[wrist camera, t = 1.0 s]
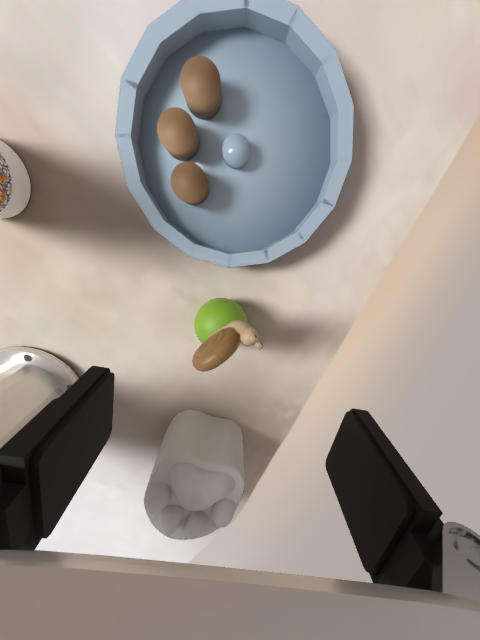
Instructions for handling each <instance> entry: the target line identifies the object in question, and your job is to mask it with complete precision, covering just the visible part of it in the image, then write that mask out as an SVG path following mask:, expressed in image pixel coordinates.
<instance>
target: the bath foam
mask: <svg viewBox="0 0 480 640" xmlns="http://www.w3.org/2000/svg"><path fill="white" fill-rule="evenodd" d="M30 193H31V184H30V179H29V175H28V172H27V170H26V168H25V166H24V164H23V162H22V161H21V159H20V158H19V157H18V155H17V154H16V153H15V152H14V151H13V150H12V149H11V148H10V147H9V146H8V145H6V144H5V143H4V142H2V141H1V140H0V219H4V218H10V217H13V216H15V215H17V214H19V213H20V212H21V211H23V210H24V208H25V207H26V205H27V204H28V201H29V198H30Z"/></svg>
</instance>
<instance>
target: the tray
mask: <svg viewBox="0 0 480 640" xmlns="http://www.w3.org/2000/svg"><path fill="white" fill-rule="evenodd" d="M199 55H200V56H205V57H207V58H209V59H210V60H211V61H212V62H213V63H214V64H215V65H216V67H217V69H218V71H219V74H220V80H221V94H222V103H221V107H220V110H219V112H218V113H217V114H216V115H215V116H214V117H213V118H211V119H208V120H201V119H198V118H197V117H195V116H194V115H193V114H192V113H191V112H190V110H189V108H188V106H187V103H186V100H185V97H184V95H183V92H182V89H181V85H180V74H181V70H182V67H183V65H184V64H185V62H186V61H187V60H188V59H190V58H191V57H193V56H199ZM171 107H178V108H181V109H183V110H185V111H186V112H187V113H188V114H189V115H190V116H191V117H192V119H193V121H194V124H195V127H196V130H197V133H198V136H199V141H200V143H199V149H198V152H197V154H196V155H195V156H194V157H193V158H192V159H190V160H188V161H179V160H177V159H175V158H174V157H172V156H171V155H170V153H169V152H168V151H167V150H166V148H165V147H164V146H163V145H162V143H161V142H160V140H159V137H158V134H157V122H158V119H159V117H160V115H161V114H162V112H163V111H165V110H166V109H168V108H171ZM353 113H354V104H353V101H352V98H351V95H350V92H349V88H348V85H347V82H346V79H345V76H344V73H343V70H342V67H341V64H340V61H339V58H338V55H337V51H336V49H335V48H334V47H333V46H332V44H331V43H330V42H329V41H328V40H327V39H326V37H325V36H324V35H323V34H322V33H321V31H320V30H319V29H318V28H317V27H316V26H315V24H314V23H313V22H312V21H311V20H310V18H309V17H308V16H307V15H306V14H305V13H304V11H303V10H302V9H301V8H300V7H299V6H298V5H296V4H293V3H291V2H289V1H286V0H181V1H179V2H178V3H177V4H175V5H174V6H173V7H171V8H170V9H169V10H168V11H166V12H165V13H164V14H162V15H161V16H160V17H158V18H157V19H156V20H154V21H153V22H152V23H150V24H149V25H148V26H147V28H146V30H145V32H144V34H143V36H142V38H141V40H140V42H139V44H138V46H137V47H136V49H135V51H134V53H133V55H132V57H131V59H130V61H129V63H128V65H127V67H126V69H125V71H124V72H123V74H122V76H121V82H120V92H119V101H118V110H117V120H116V129H115V137H116V141H117V146H118V150H119V154H120V158H121V163H122V167H123V171H124V175H125V180H126V184H127V188H128V189H129V191H130V193H131V194H132V196H133V197H134V199H135V200H136V202H137V204H138V205H139V207H140V208H141V210H142V211H143V213H144V215H145V216H146V218H147V219H148V221H149V223H150V224H151V226H152V227H153V229H154V230H155V231H157V232H158V233H159V234H161V235H162V236H163V237H164V238H166V239H167V240H168V241H170V242H171V243H172V244H174V245H175V246H176V247H177V248H179V249H180V250H181V251H183V252H184V253H185V254H187V255H188V256H190V257H193V258H197V259H200V260H204V261H207V262H211V263H214V264H218V265H221V266H225V267H228V268H230V267H238V266H246V265H254V264H263V263H269V262H271V261H273V260H275V259H276V258H278V257H280V256H282V255H283V254H285V253H287V252H289V251H291V250H292V249H294V248H296V247H298V246H300V245H301V244H303V243H305V242H306V241H307V240H308V238H309V237H310V236H311V235H312V234H313V232H314V231H315V230H316V229H317V228H318V226H319V225H320V224H321V223H322V222H323V220H324V219H325V218H326V217H327V216H328V214H329V213H330V212H331V211H332V210H333V208H334V207H335V205H336V202H337V199H338V196H339V194H340V191H341V188H342V186H343V183H344V180H345V178H346V175H347V172H348V170H349V167H350V164H351V162H352V148H353ZM182 162H193V163H195V164H197V165H198V166H200V167H201V168H202V170H203V171H204V173H205V175H206V177H207V179H208V182H209V194H208V197H207V199H206V200H205V201H204V202H203V203H201V204H199V205H189V204H187V203H185V202H184V201H182V200H181V199H179V198H178V197H177V196H176V195H175V193H174V192H173V190H172V187H171V174H172V171H173V170H174V168H175V167H176V166H177V165H178V164H180V163H182Z"/></svg>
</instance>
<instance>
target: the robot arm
mask: <svg viewBox="0 0 480 640" xmlns="http://www.w3.org/2000/svg"><path fill="white" fill-rule="evenodd" d="M113 395H114V373H110V369H109V368H104V367H98V366H92V367H91V368H89V369H88V370H87V371H86V372H85V373H84V374H83V375H82V376H81V377H80V378H78V376H77V375H76V374H75V372H74V371H73V370H72V369H71V368H70V367H69V366H68V365H66V364H65V363H64V362H63V361H61V360H60V359H58V358H57V357H55V356H53V355H51V354H49V353H47V352H44V351H42V350H38V349H34V348H29V347H8V348H4V349H0V640H480V536H479V535H478V534H477V533H475V532H474V531H472V530H471V529H469V528H467V527H465V526H464V525H461V524H459V523H456V522H447V523H445V524H443V522H442V521H441V520H440V516H441V515H442V512H441V510H440V509H439V507H438V506H437V505H436V503H435V502H434V501H433V499H432V498H431V497H430V495H429V494H428V492H427V491H426V490H425V488H424V487H423V486H422V484H421V483H420V482H419V480H418V479H417V477H416V476H415V475H414V473H413V472H412V471H411V469H410V468H409V467H408V465H407V464H406V463H405V461H404V460H403V458H402V457H401V456H400V454H399V453H398V452H397V450H396V449H395V447H394V446H393V445H392V443H391V442H390V441H389V439H388V438H387V437H386V435H385V434H384V432H383V431H382V430H381V429H380V427H379V426H378V424H377V423H376V422H375V420H374V419H373V418H372V416H371V415H370V414H369V412H368V411H365V410H359V409H351V410H350V411H349V412H347V413H346V414H345V416H344V418H343V421H342V423H341V425H340V428H339V431H338V433H337V435H336V437H335V440H334V442H333V444H332V447H331V450H330V452H329V454H328V456H327V459H326V470H327V473H328V475H329V478H330V480H331V483H332V486H333V488H334V491H335V494H336V496H337V498H338V501H339V504H340V507H341V509H342V512H343V515H344V517H345V520H346V522H347V525H348V528H349V530H350V533H351V535H352V538H353V541H354V543H355V546H356V549H357V551H358V554H359V556H360V559H361V561H362V564H363V567H364V569H365V570H366V571H367V572H368V573H370V576H371V578H372V581H373V583H367V582H356V581H348V580H339V579H330V578H321V577H312V576H303V575H294V574H284V573H274V572H265V571H255V570H246V569H236V568H225V567H216V566H206V565H197V564H186V563H176V562H166V561H155V560H145V559H135V558H124V557H114V556H104V555H91V554H78V553H65V552H52V551H37V550H35V548H36V547H37V545H38V543H39V542H40V540H41V539H42V538H47V537H48V536H49V535H50V534H51V533H52V531H53V529H54V528H55V526H56V524H57V523H58V521H59V520H60V518H61V516H62V515H63V513H64V511H65V510H66V508H67V506H68V505H69V503H70V501H71V500H72V498H73V496H74V495H75V493H76V492H77V490H78V488H79V487H80V485H81V483H82V482H83V480H84V478H85V477H86V475H87V473H88V472H89V470H90V468H91V467H92V465H93V464H94V462H95V460H96V459H97V457H98V455H99V454H100V452H101V450H102V449H103V447H104V445H105V444H106V442H107V440H108V439H109V437H110V434H111V431H112V416H113Z"/></svg>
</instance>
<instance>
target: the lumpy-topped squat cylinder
mask: <svg viewBox="0 0 480 640" xmlns="http://www.w3.org/2000/svg"><path fill="white" fill-rule="evenodd" d="M244 488H245V468H244V449H243V433H242V429H241V427H240V426H239V424H238V423H236V422H235V421H233V420H230V419H225V418H218V417H214V416H211V415H208V414H206V413H204V412H202V411H199V410H194V409H189V410H184V411H182V412H180V413H178V414H177V415H176V416H175V417H174V418H173V419H172V421H171V422H170V424H169V426H168V428H167V430H166V432H165V435H164V438H163V441H162V444H161V447H160V450H159V453H158V456H157V459H156V462H155V465H154V468H153V471H152V474H151V477H150V480H149V483H148V486H147V489H146V493H145V497H144V506H145V509H146V512H147V515H148V517H149V519H150V521H151V523H152V524H153V525H154V527H155V528H156V529H157V530H159V531H160V532H161V533H162V534H164V535H165V536H167V537H169V538H173V539H179V540H186V539H195V538H198V537H202V536H205V535H208V534H210V533H212V532H213V531H215V530H217V529H218V528H220V527H225V526H227V525H228V524H229V523H230V521H231V520H232V517H233V515H234V512H235V510H236V508H237V506H238V504H239V502H240V499H241V497H242V494H243V492H244Z"/></svg>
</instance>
